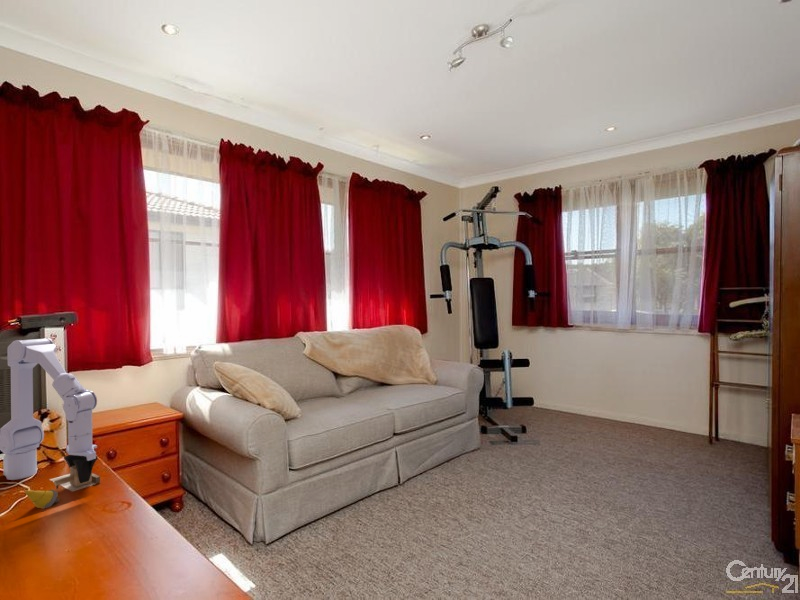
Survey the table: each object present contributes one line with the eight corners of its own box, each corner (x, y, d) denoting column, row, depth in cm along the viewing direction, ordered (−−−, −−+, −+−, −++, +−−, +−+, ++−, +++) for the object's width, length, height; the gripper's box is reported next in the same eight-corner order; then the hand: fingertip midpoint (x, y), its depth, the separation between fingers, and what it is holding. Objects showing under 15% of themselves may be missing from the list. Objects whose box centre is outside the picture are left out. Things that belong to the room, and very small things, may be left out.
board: (49, 483, 132) (49, 473, 132) (76, 475, 138) (76, 466, 138) (72, 495, 123) (72, 485, 123) (100, 486, 129) (100, 476, 129)
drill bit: (62, 510, 115) (29, 495, 109) (44, 519, 116) (10, 504, 109) (69, 491, 120) (37, 476, 113) (51, 500, 120) (18, 485, 113)
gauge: (52, 489, 124) (52, 471, 124) (85, 479, 131) (85, 462, 131) (58, 492, 122) (58, 474, 122) (91, 482, 129) (91, 465, 129)
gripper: (107, 434, 128) (107, 480, 128) (84, 426, 135) (85, 470, 135) (79, 440, 122) (80, 489, 122) (57, 432, 130) (58, 478, 129)
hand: (80, 480), depth 128 cm, fingers closed on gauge, 4 cm apart
